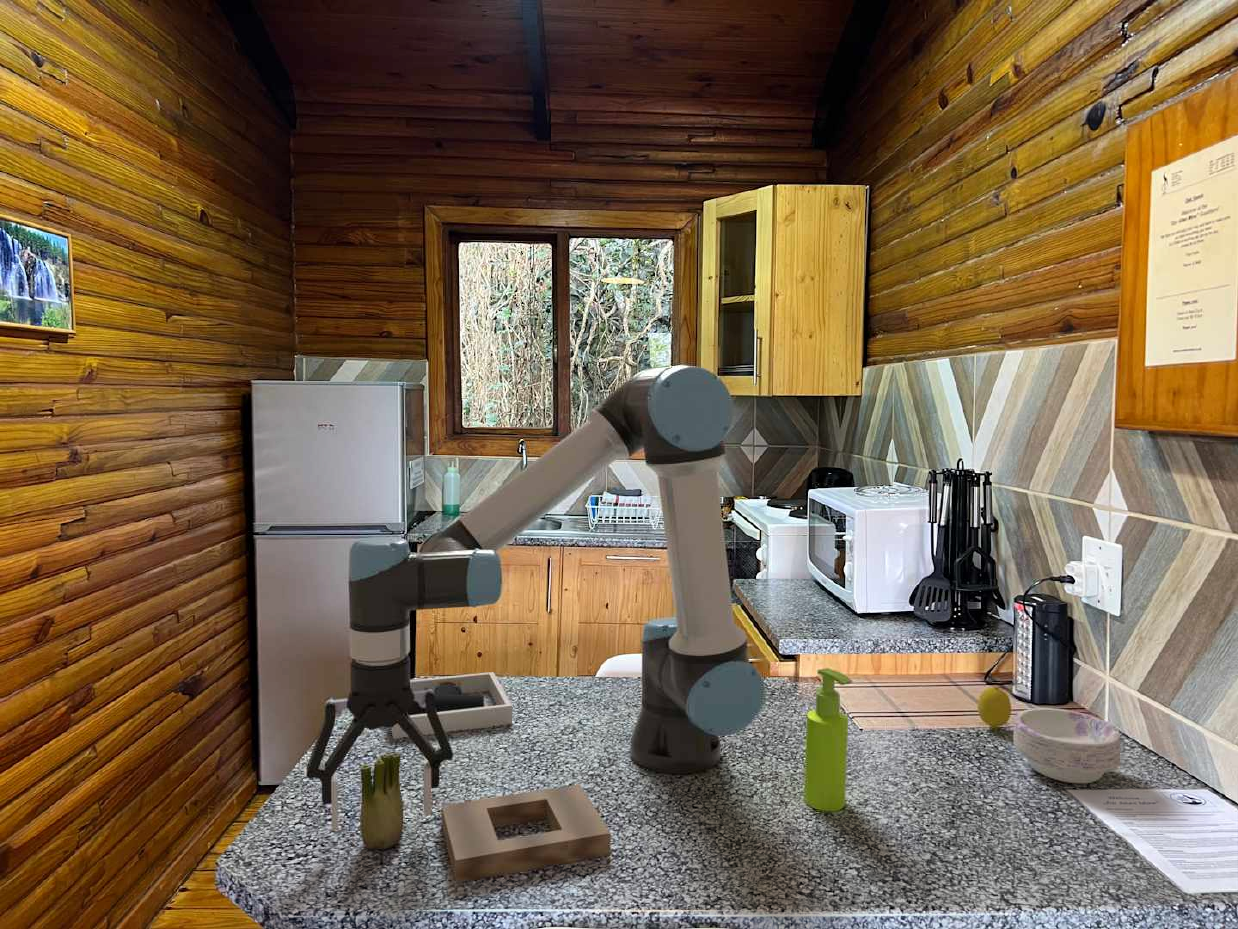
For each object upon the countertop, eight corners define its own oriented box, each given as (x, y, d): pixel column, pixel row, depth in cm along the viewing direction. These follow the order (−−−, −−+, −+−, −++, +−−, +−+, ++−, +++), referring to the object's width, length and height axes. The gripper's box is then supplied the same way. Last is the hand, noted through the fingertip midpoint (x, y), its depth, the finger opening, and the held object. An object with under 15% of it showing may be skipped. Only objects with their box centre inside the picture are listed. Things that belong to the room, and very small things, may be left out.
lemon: (1009, 726, 149) (1011, 684, 148) (1010, 737, 144) (1012, 693, 143) (976, 720, 151) (979, 679, 150) (976, 731, 146) (978, 688, 145)
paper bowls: (991, 759, 135) (993, 713, 134) (1054, 745, 141) (1057, 701, 140) (1074, 801, 121) (1077, 750, 120) (1140, 783, 127) (1144, 735, 126)
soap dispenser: (827, 818, 115) (832, 682, 113) (796, 797, 121) (800, 667, 119) (858, 809, 118) (863, 676, 116) (825, 788, 124) (830, 661, 122)
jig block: (579, 804, 118) (579, 784, 118) (610, 855, 105) (610, 833, 105) (441, 826, 111) (441, 805, 111) (455, 883, 98) (455, 860, 98)
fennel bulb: (361, 858, 104) (360, 768, 103) (357, 839, 108) (356, 753, 107) (407, 849, 106) (406, 761, 105) (401, 830, 110) (401, 746, 109)
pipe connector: (411, 677, 156) (488, 677, 157) (411, 703, 157) (488, 703, 157) (396, 700, 145) (480, 700, 145) (396, 728, 145) (480, 728, 146)
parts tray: (493, 688, 164) (493, 672, 164) (512, 724, 146) (512, 705, 146) (386, 700, 157) (386, 682, 157) (393, 739, 140) (392, 719, 139)
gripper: (466, 640, 112) (466, 791, 114) (284, 656, 104) (288, 818, 106) (475, 657, 105) (475, 817, 107) (281, 675, 97) (284, 848, 99)
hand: (382, 818), depth 107 cm, fingers open, 11 cm apart
